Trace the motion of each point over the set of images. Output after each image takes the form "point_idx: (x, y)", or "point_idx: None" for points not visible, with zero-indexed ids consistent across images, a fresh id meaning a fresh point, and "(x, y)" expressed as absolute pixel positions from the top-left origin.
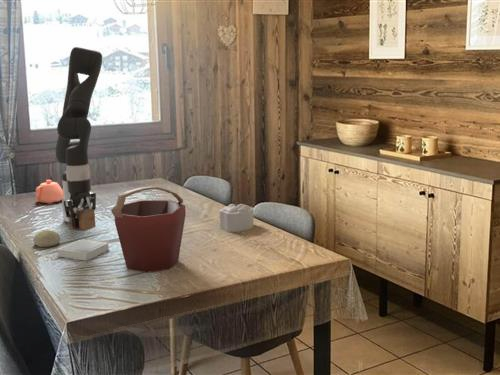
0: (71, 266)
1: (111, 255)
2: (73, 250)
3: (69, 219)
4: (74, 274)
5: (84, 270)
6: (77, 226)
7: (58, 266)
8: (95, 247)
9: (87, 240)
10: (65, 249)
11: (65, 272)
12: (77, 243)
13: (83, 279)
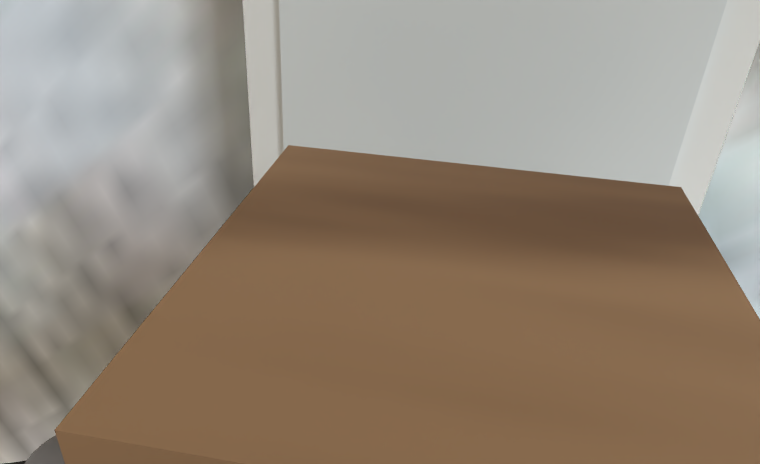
0: (117, 225)
1: None
2: (282, 145)
3: (194, 278)
4: (20, 326)
5: (111, 351)
6: None
7: (55, 118)
8: None
9: (728, 83)
10: (270, 25)
11: (5, 251)
12: (530, 41)
13: (2, 408)
